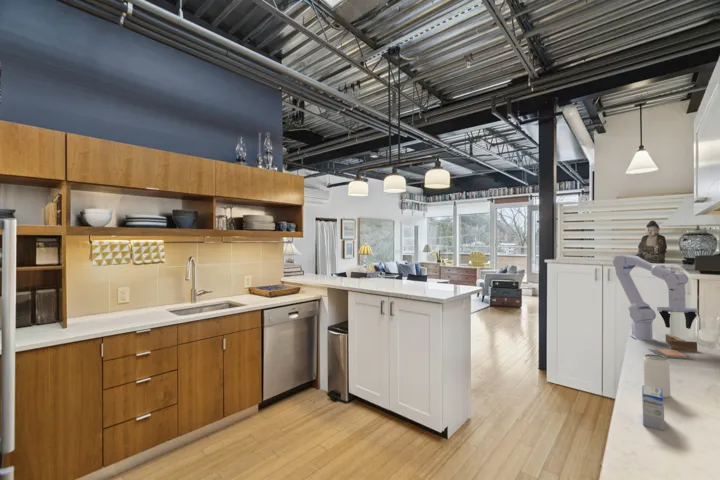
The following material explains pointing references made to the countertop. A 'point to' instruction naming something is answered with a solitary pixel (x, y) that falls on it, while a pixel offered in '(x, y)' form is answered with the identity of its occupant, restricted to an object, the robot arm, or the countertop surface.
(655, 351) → the mat
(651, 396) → the medicine box
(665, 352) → the tile
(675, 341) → the wooden t-shaped piece
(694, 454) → the countertop surface
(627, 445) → the countertop surface
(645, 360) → the can
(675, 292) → the robot arm
